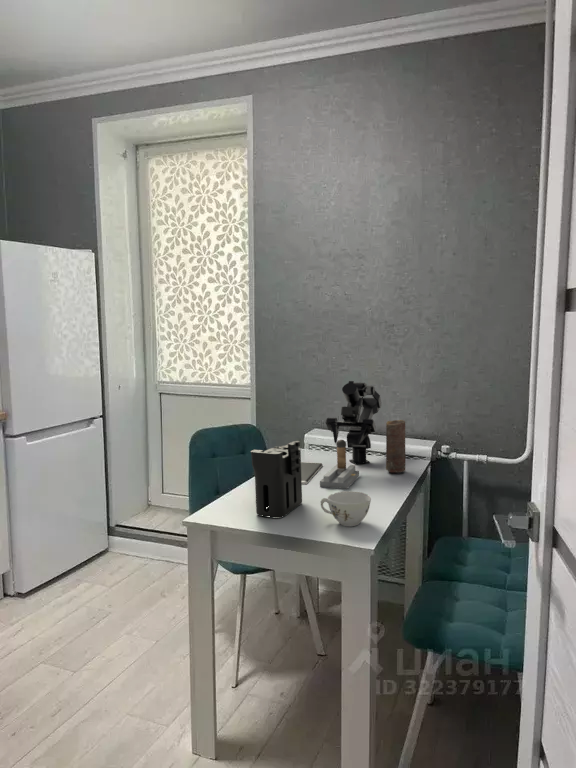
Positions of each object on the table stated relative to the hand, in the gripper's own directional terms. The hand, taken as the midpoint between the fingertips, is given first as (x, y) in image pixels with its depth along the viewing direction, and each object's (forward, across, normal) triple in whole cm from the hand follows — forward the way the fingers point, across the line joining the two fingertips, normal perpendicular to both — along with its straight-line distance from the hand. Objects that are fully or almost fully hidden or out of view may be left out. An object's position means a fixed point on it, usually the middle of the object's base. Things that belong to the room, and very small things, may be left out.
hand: (346, 443), depth 221 cm
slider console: (+16, 0, +1) cm, 16 cm away
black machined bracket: (+39, -8, -24) cm, 47 cm away
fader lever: (+12, 0, +1) cm, 12 cm away
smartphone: (+12, -18, +5) cm, 23 cm away
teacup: (+44, +14, -29) cm, 54 cm away
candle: (+4, +17, +13) cm, 22 cm away
